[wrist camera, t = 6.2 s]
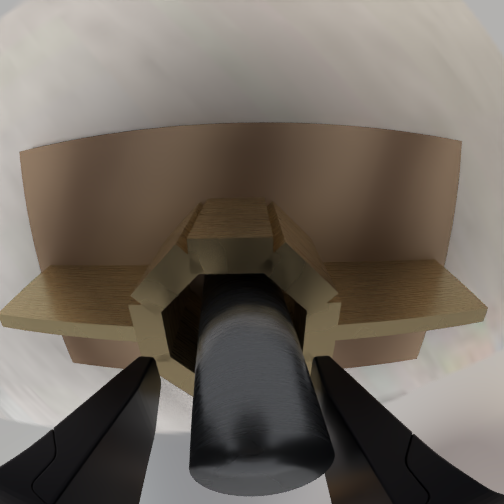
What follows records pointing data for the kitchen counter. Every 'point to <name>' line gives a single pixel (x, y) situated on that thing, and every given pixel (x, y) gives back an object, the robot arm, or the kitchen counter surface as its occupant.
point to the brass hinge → (238, 262)
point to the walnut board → (244, 186)
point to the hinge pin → (253, 394)
